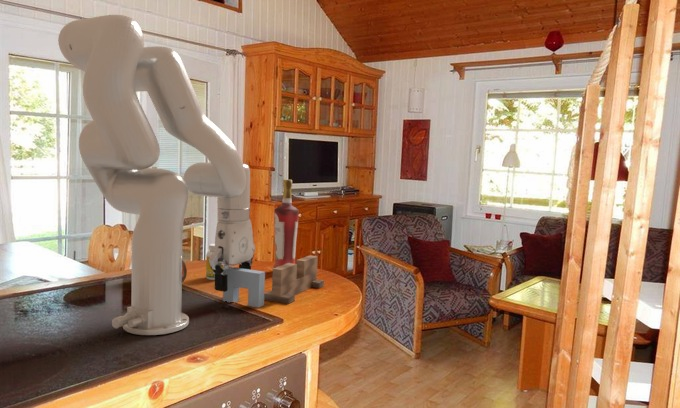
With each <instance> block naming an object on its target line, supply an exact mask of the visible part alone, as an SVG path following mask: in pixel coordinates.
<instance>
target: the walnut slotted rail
mask: <svg viewBox="0 0 680 408" xmlns="http://www.w3.org/2000/svg"><path fill="white" fill-rule="evenodd" d="M318 257H319V256H318V255H309V254H308V255H307V256H305V257H301V258H299V259H295V264H293V263H287V264H284V265H282V266H279V267H276V268H274V267H272V275H271V276H272V278H271V279H272V281H271V290H269V291H266V292H264V301H271V302H274V303H281V304H286V305H290V304H291V303H294V302H295V301H296V299H295V298H296V295H298V294H300V293H303V292H305V291H306V290H309V289H311V288H314V289H315V288H316V289H321V288H323V287H324V286H325V280H324V279H323V280H322V279H318Z"/></svg>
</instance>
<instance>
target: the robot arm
mask: <svg viewBox="0 0 680 408" xmlns="http://www.w3.org/2000/svg"><path fill="white" fill-rule="evenodd" d="M57 40H58V43H57V44H58V46H59V50H60V52H61V54H62V55H63V57H64V58H65V59H66V61H67V62H69V64H71V65H72V66H74V67H75V68H77V69H79V70H81V71H83V72H84V74H83V79H82V96H83V99H84V103H85V105H86V109H87V110H88V112H89V114H90V117H91V120H92V121H89V122H88V123H87V124H86V125H85V126H84V127H82V129H81V132H80V135H79V137H78V149H79V150H78V151H79V153H80V158H82V161H83V163H84V165H85V167H86V169H87V170H88V172H89V173H90V175H91V177H92V179H93V181H94V183H95V184H96V186H97V187H98V189H99V191H100V192H101V194H102V195H103V197H104V199H105V200H106V201H107V203H108V204H109V205H110V206H111V207H112V208H113V209H114V210H117V211H119V212H121V213H124V214H126V213H127V214H132V215H138V220H137V221H136V224H135V226H134V229H133V232H132V235H131V236H132V237H131V296H130V297H131V299H130V300H131V305H130V306H127V310H126V311H127V312H125V313H124V315H120V316H117V317H114V318H113V319H112V320H111V326H112V327H113V328H114V329H119V328H121V327H122V328H123V330H124V331H125V332H127V333H130V334H133V335H139V336H157V335H168V334H171V333H176V332H179V331H181V330H183V329H185V328H187V326H188V325H189V323H190V317H189V316H188V314H186V313H184V312H182V293H183V292H182V286H183V285H182V284H183V283H182V260H183V235H184V234H183V233H184V232H183V230H184V221H185V215H186V210H187V207H188V201H189V192H190V193H191V194H193V195H196V196H200V197H209V198H217V202H216V203H217V209H216V210H217V212H216V213H217V224H216V229H215V236H214V237H215V238H214V244H215V252H214V253H213V254H212V255H211V257H210V258H209V263H210V265H211V269H212V270H213V274H215V280H214V290H215V291H217V292H218V291H219V292H222V293H223V292H226V291H227V290H228V276H227V274H226V272H227V269H228V267H229V266H230V267H235V266H236V265H238V268H243V269H250V270H252V265H253V259H254V256H255V254H254V253H255V251H256V245H255V243H254V231H253V225H252V221H251V218H250V217H251V210H250V209H251V208H250V207H251V206H250V205H251V202H250V201H251V169H250V166H249V164H246V163H243V162H242V161H243V160H242V159H241V156H240V154H239V152H238V149H237V147H236V146H235V144H234V143H233V141H232V140H231V139H230V138H229V137H228V136H227V135H226V134H225V132H223V131H222V130H221V129H220V127H218V126H217V125H216V124H215V123H214V122H213V121H212V120H211V119H210V118H208V117H207V116H206V114H205V112H204V110H203V108H202V106H201V103H200V101H199V98H198V96H197V94H196V92H195V88H194V86H193V83H192V81H191V79H190V77H189V74H188V72H187V70H186V67H185V64H184V62H183V60H182V58H181V56H180V55H179V53H177V52H176V50H175V49H172V48H171V47H168V46H167V47H166V46H156V45H155V46H145V39H144V34H143V30H142V28H141V26H140V24H139V23H138V22H137V21H136V20H135V19H133V18H131V17H130V16H127V15H123V14H108V15H107V14H106V15H105V14H104V15H100V16H99V15H98V16H95V17H89V18H82V19H76V20H73V21H69V22H68V23H66V24H65V25H64V26H62V28H61V30H60V31H59V34H58V39H57ZM136 92H147V94H148V96H149V98H150V100H151V102H152V105H154V108H155V110H156V112H157V114H158V117H159V119H160V121H161V124H162V126H163V128H164V130H165V131H166V132H167V133H168V134H169V135H170V136H173V137H174V138H175V139H177V140H179V141H180V142H183V143H185V144H187V145H189V146H191V147H192V148H194V149H196V150H197V151H198V152H200V153H201V154H202V155H203V156H204V157H206V159H207V160H208V161H209V162H196V163H193V164H192V165H190V166H188V167H187V169H185V171H184V173H183V177H182V176H181V175H180V174H179V173H176V172H175V171H172V170H170V169H164V168H155V167H154V168H153V166H154V165H155V164H156V163H157V162H158V160H159V157H160V156H161V154H160V153H161V151H160V150H161V149H160V144H159V141H158V138H157V135H156V134H155V132H154V130H153V128H152V126H151V124H150V121H149V119H148V117H147V115H146V114H145V111H144V109H143V106H142V104H141V102H140V99H139V98H138V95H137V93H136ZM151 167H152V168H151ZM221 265H224V266H223V268H221V267H220V266H221Z"/></svg>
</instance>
